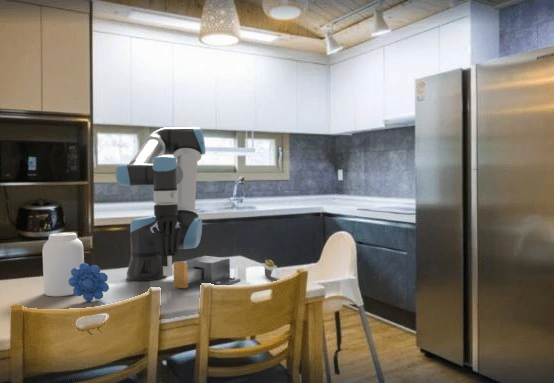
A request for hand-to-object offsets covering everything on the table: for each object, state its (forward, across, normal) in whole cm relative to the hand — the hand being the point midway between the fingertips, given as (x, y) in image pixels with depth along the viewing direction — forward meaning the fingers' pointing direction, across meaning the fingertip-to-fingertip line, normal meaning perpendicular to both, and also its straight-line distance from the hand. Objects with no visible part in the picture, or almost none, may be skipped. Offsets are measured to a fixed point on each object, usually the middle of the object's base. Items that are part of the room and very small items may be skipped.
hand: (167, 275), depth 146 cm
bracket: (+6, +19, 0) cm, 20 cm away
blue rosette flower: (+6, -20, +14) cm, 25 cm away
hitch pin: (+5, +13, 0) cm, 14 cm away
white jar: (+6, -17, +32) cm, 36 cm away
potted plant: (+7, +35, -16) cm, 39 cm away
